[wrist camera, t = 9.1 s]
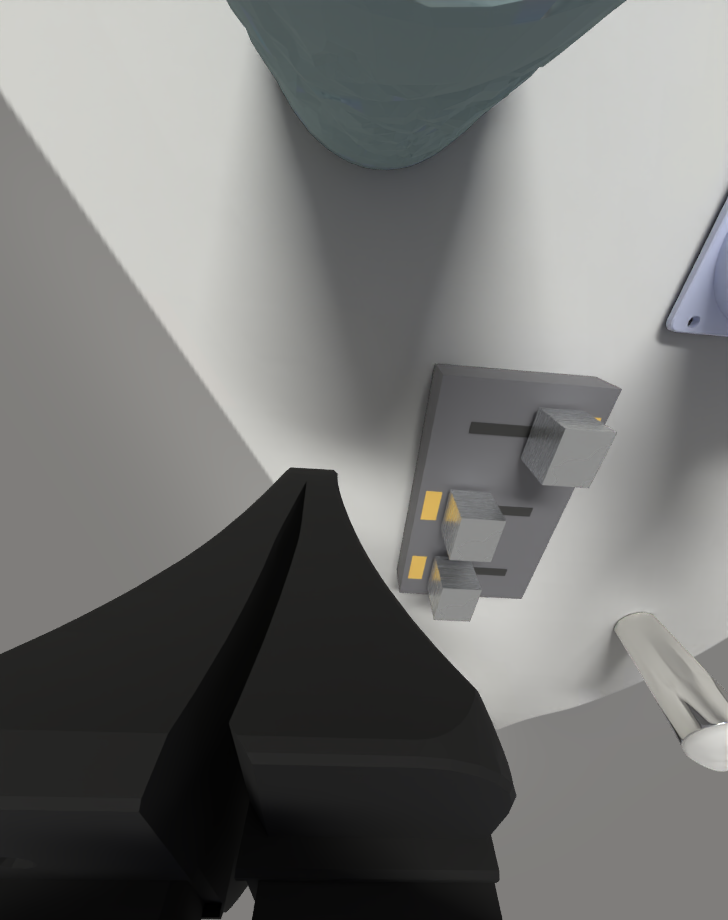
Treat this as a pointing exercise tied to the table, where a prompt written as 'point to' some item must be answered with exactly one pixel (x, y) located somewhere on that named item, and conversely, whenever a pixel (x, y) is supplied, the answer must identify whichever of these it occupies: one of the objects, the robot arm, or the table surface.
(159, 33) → the table surface
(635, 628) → the milkshake
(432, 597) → the knob
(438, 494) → the switch panel
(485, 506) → the knob
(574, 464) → the knob
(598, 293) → the table surface
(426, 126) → the teal plant pot
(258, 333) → the table surface
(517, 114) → the table surface
